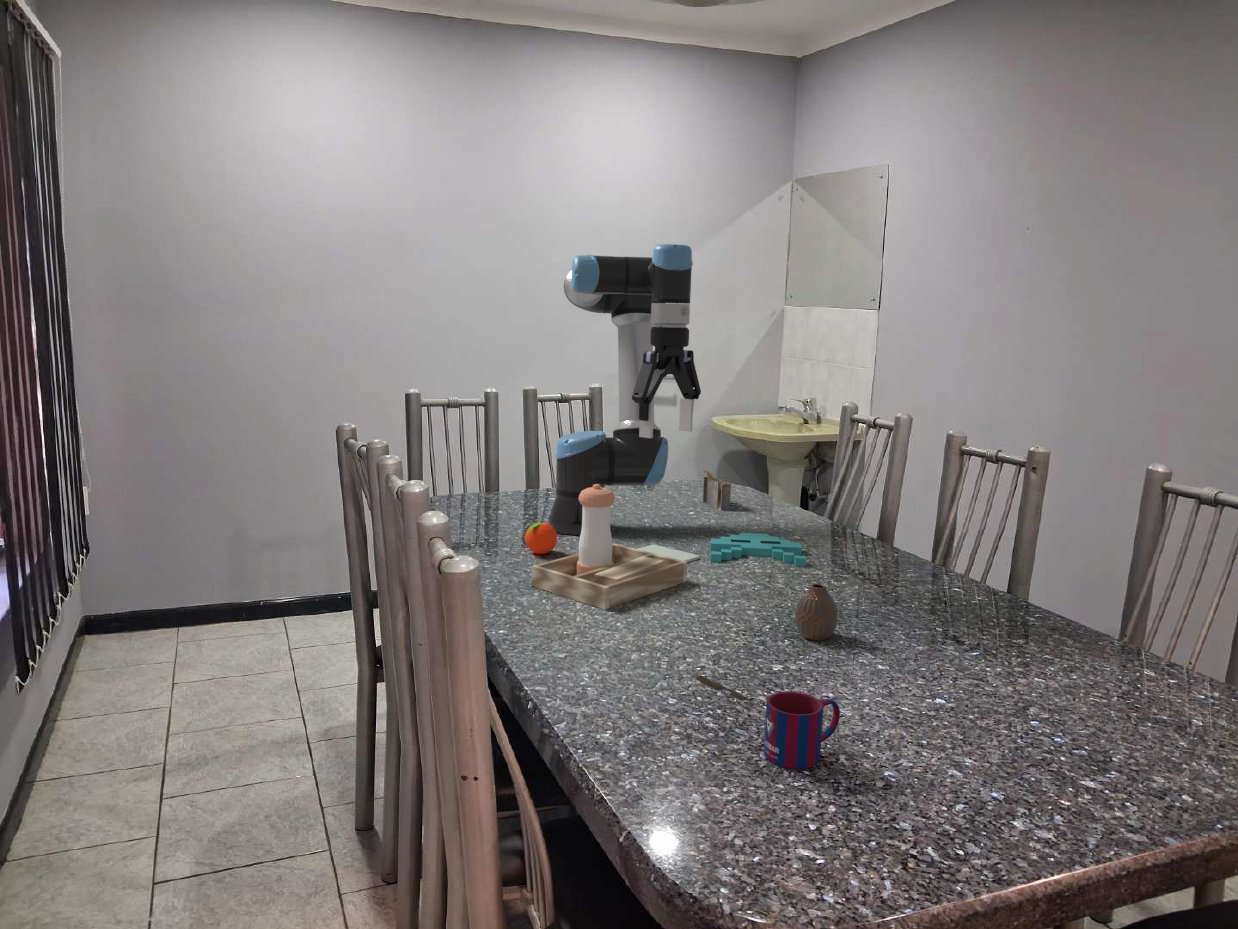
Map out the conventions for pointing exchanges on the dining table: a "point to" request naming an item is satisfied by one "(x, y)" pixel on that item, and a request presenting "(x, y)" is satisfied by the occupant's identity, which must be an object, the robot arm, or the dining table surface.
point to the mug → (796, 729)
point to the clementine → (541, 538)
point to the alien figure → (756, 548)
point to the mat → (670, 553)
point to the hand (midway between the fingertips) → (666, 434)
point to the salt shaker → (595, 529)
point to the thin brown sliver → (719, 687)
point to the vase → (816, 613)
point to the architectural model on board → (716, 492)
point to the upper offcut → (628, 570)
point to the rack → (582, 588)
